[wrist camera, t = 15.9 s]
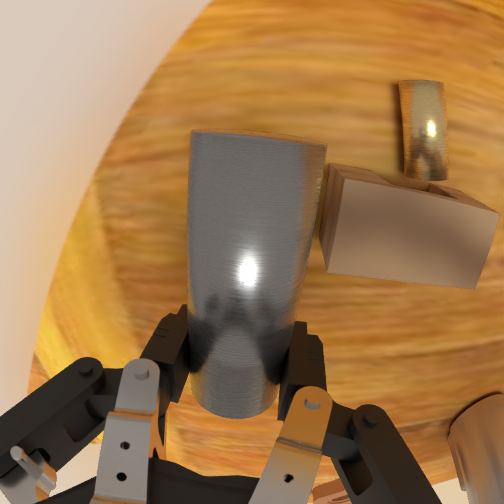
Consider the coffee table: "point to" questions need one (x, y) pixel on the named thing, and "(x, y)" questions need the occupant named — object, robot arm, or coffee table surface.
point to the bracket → (331, 493)
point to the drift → (424, 129)
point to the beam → (403, 231)
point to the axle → (246, 261)
